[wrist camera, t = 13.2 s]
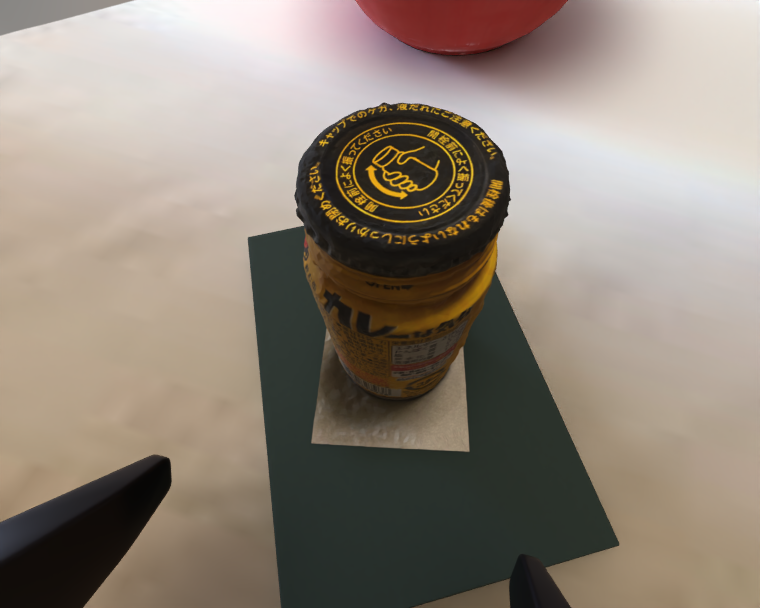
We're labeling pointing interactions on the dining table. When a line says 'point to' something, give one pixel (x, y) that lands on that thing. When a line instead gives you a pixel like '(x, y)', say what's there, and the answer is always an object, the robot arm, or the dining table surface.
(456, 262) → the condiment
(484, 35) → the mixing bowl
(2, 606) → the robot arm
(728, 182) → the dining table surface
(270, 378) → the placemat
